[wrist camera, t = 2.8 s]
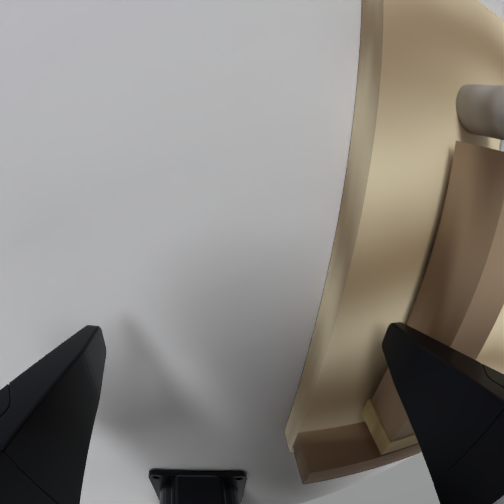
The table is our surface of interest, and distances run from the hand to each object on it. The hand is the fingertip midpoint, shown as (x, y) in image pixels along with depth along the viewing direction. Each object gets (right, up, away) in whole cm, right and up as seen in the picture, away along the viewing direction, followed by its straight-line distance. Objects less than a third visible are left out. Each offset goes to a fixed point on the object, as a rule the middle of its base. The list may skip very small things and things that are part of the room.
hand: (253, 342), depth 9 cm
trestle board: (+12, +2, +3) cm, 12 cm away
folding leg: (+7, +1, +2) cm, 7 cm away
